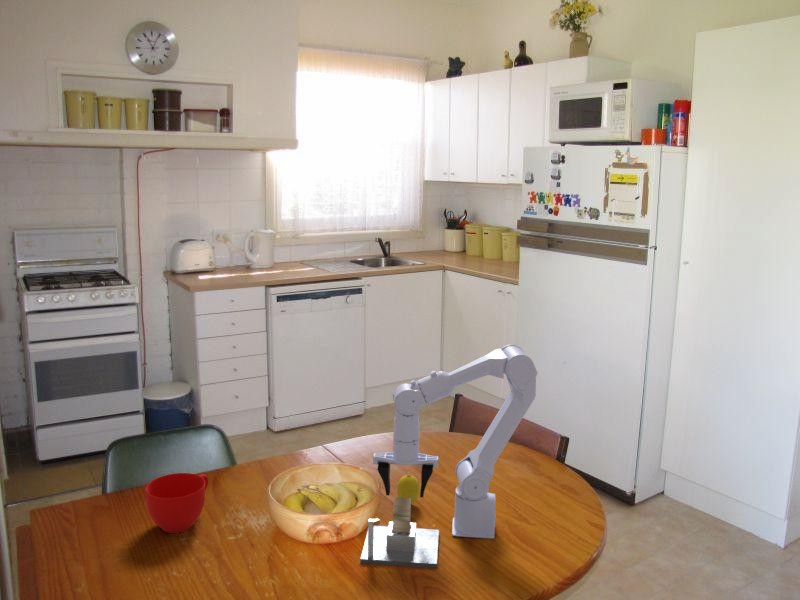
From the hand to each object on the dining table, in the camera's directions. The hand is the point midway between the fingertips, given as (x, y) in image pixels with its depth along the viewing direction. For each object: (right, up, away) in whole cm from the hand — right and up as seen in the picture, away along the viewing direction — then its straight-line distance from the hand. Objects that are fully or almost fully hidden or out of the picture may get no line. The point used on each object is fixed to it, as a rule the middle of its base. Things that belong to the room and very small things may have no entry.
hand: (404, 494), depth 160 cm
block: (-1, -5, -7) cm, 9 cm away
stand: (-1, -10, -6) cm, 12 cm away
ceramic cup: (-51, -7, +3) cm, 52 cm away
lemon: (+1, -7, +14) cm, 15 cm away
